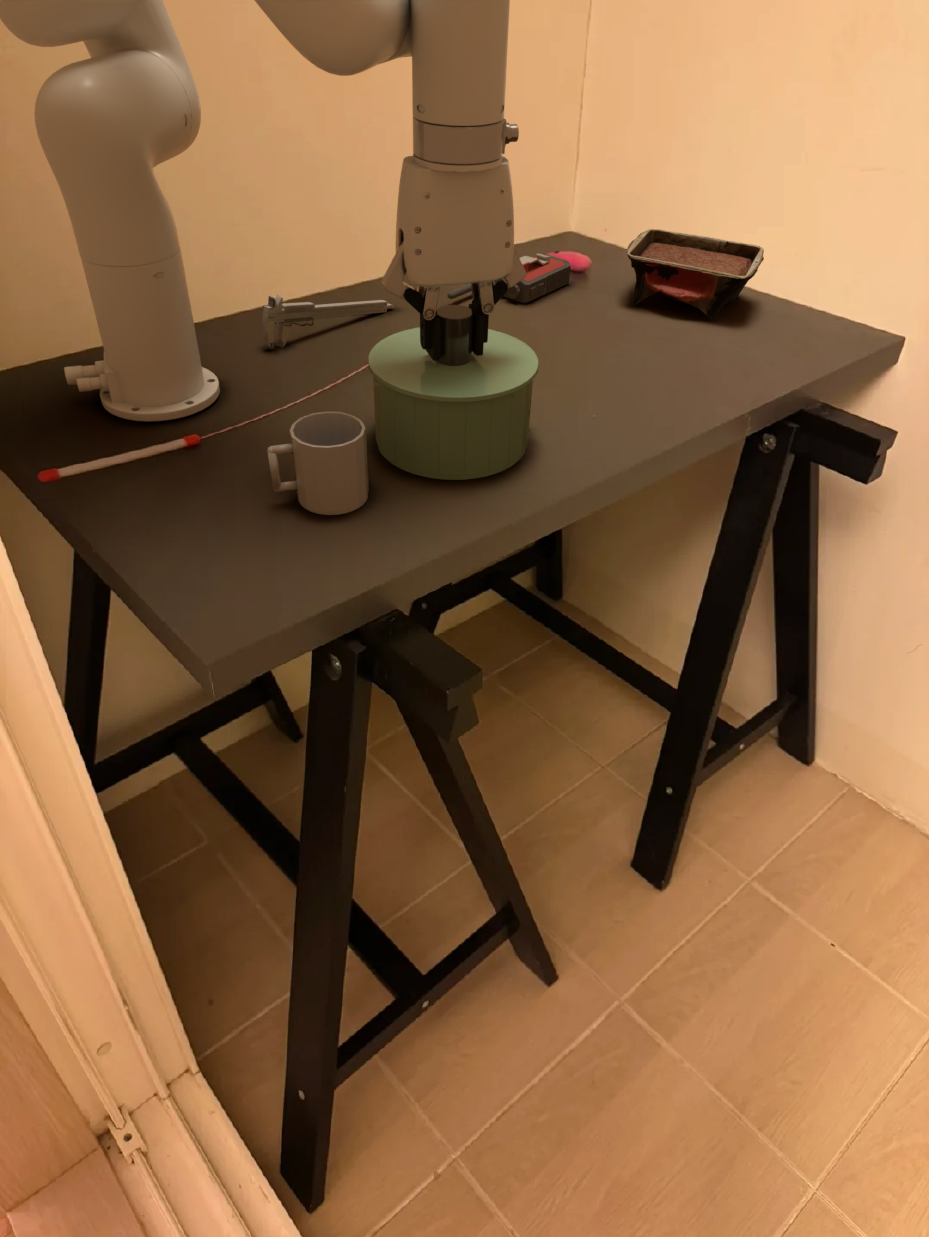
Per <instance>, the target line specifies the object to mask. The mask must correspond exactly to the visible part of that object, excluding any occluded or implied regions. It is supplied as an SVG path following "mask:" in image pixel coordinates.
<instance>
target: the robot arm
mask: <svg viewBox="0 0 929 1237" xmlns="http://www.w3.org/2000/svg"><path fill="white" fill-rule="evenodd" d="M254 2H255V3H256V5H257V6H258V7H259V8H260V9H261V10H262V12H263V13H264V14H265V15H266V17H267V18H268V19H269V20H270V22H271V23H272V24H273V25H274V27H275V28H276V29H277V30H278V31H279V33H280V34H281V35H283V37H284V38H285V39H286V40H287V42H289V44H290V45H291V46H292V47H293V48H294V49H295V50H296V51H297V52H298V53H299V54H300V55H301V56H302V57H303V58H304V59H306V60H307V61H308V62H309V63H311V64H312V65H313V66H314V67H316V68H318V69H319V70H322V71H323V72H326V73H328V74H331V75H335V76H341V77H348V76H349V77H350V76H354V75H358V74H361V73H364V72H366V71H368V70H370V69H372V68H374V67H376V66H378V65H381V64H384V63H387V62H388V63H389V62H391V61H394V60H396V59H401V58H411V89H412V92H411V93H412V94H411V97H412V99H411V101H412V102H411V103H412V107H411V108H412V155H408V156H405V157H404V158H403V160H402V164H401V171H400V176H399V184H398V194H397V206H396V222H395V254H394V256H393V258H392V260H391V261H390V264H389V266H388V267H387V270H386V271H385V272H384V275H383V276H382V278H381V279H382V280H381V284H382V287H383V288H384V289H385V290H386V291H387V292H388V293H390V294H392V295H393V296H395V297H397V298H399V299H401V300H404V301H406V302H407V303H408V304H409V306H411V307H412V308H413V309H414V310H415V311H416V312H417V313H419V327H420V343H421V347H422V348H423V350H424V349H425V350H426V351H427V353H428V354H429V356H430V357H431V358H432V360H433V361H437V360H439V359H441V320H440V319H439V318H438V316H437V311H436V310H437V309H438V303H439V295H440V290H441V289H440V288H441V287H443V286H444V287H445V286H455V285H467V284H470V283H471V288H472V291H471V296H472V300H471V303H468V306H467V307H468V308H470V309H472V310H473V313H474V315H473V344H472V352H473V353H474V354H475V355H477V356H481V355H483V346H484V343H487V341H488V329H489V321H490V314H492V313H493V312H494V310H495V305H497V303H498V302H499V301H500V300H501V299H502V298H504V297H503V296H504V294H505V293H506V292H507V290H508V289H509V288H512V287H513V286H514V285H516V284H517V283H519V282H520V281H521V280H523V279H524V278H525V277H526V270H525V269H524V267H523V265H522V263H521V261H520V259H519V258H520V257H519V254H518V253H517V251H516V249H515V214H514V212H515V210H514V197H513V196H514V195H513V185H512V175H511V169H510V162H509V159H508V158H506V156H505V153H506V147H507V146H506V145H509V144H510V143H516V142H518V140H519V137H520V136H519V134H520V130H519V126H518V124H517V123H510V122H507V119H506V118H505V108H506V107H505V106H506V105H505V104H506V86H507V84H506V83H507V68H508V67H507V65H508V64H507V63H508V48H509V46H508V45H509V26H510V25H509V24H510V5H511V0H254ZM0 21H1V22H2V23H3V25H4V26H5V28H7V30H8V31H9V32H10V33H12V35H14V36H15V37H16V38H17V39H18V40H20V41H22V42H24V43H26V44H29V45H31V46H36V47H41V48H53V47H55V48H56V47H60V46H61V47H62V46H67V45H71V44H75V43H76V44H77V43H80V42H83V44H84V46H85V48H86V50H87V52H88V54H89V56H90V58H86V59H81V60H79V61H75V62H72V63H71V62H70V63H69V64H66V65H64V66H62V67H61V68H59V69H57V70H56V71H54V72H53V73H52V74H50V75H49V77H47V79H46V80H45V81H44V82H43V84H42V85H41V87H40V89H39V91H38V93H37V96H36V100H35V102H34V124H35V129H36V133H37V138H38V140H39V144H40V146H41V149H42V151H43V153H44V155H45V158H46V161H47V163H48V165H49V166H50V169H51V172H52V174H53V175H54V177H55V181H56V183H57V184H58V188H59V190H60V192H61V195H62V198H63V201H64V204H65V207H66V210H67V212H68V216H69V219H70V220H69V221H70V223H71V227H72V230H73V234H74V238H75V242H76V246H77V250H78V254H79V257H80V260H81V263H82V264H81V265H82V268H83V271H84V275H85V276H84V277H85V280H86V284H87V288H88V291H89V295H90V299H91V300H90V301H91V303H92V307H93V311H94V315H95V321H96V323H97V328H98V332H99V335H100V339H101V343H102V348H103V360H96V361H94V364H92V365H72V366H64V367H63V371H64V372H63V373H64V376H65V380H66V384H67V385H68V387H69V386H77V389H78V392H79V393H83V392H92V391H96V390H99V397H100V401H101V405H102V406H103V408H104V410H106V411H107V412H108V413H109V414H111V415H113V416H115V417H118V418H120V419H124V420H128V421H133V422H134V421H136V422H148V423H149V422H166V421H172V420H177V419H181V418H185V417H189V416H191V415H194V414H197V413H199V412H202V411H203V410H205V409H206V408H208V407H210V406H211V405H212V404H213V403H215V401H216V400H217V399H218V397H219V396H220V393H221V387H220V381H219V378H218V376H217V375H215V373H214V372H212V371H211V370H210V369H208V368H205V367H203V366H202V362H201V360H202V359H201V355H200V350H199V344H198V338H197V333H196V327H195V322H194V316H193V310H192V305H191V304H192V303H191V299H190V294H189V288H188V282H187V277H186V272H185V266H184V261H183V260H184V259H183V255H182V254H183V253H182V250H181V245H180V239H179V234H178V229H177V225H176V221H175V218H174V215H173V211H172V209H171V206H170V204H169V201H168V200H167V198H166V195H165V194H164V192H163V190H162V188H161V187H160V184H159V183H158V180H157V178H156V175H155V172H154V168H156V167H157V166H159V165H160V164H163V163H164V162H167V161H168V160H171V159H173V158H175V157H177V156H179V155H181V154H182V153H184V152H186V151H187V150H188V149H189V148H190V147H191V146H192V144H193V143H194V142H195V140H196V138H197V136H198V135H199V131H200V127H201V122H202V109H201V102H200V96H199V93H198V89H197V88H198V87H197V85H196V82H195V79H194V76H193V74H192V71H191V69H190V66H189V64H188V61H187V58H186V56H185V53H184V51H183V48H182V45H181V43H180V41H179V38H178V36H177V33H176V31H175V28H174V26H173V23H172V21H171V19H170V16H169V12H168V11H167V9H166V6H165V3H164V1H163V0H0ZM405 276H406V278H407V280H408V282H409V283H410V284H409V283H407V282H405V281H404V277H405ZM414 286H416V288H415V287H414Z"/></svg>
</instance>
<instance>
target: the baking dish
mask: <svg viewBox="0 0 929 1237" xmlns="http://www.w3.org/2000/svg"><path fill="white" fill-rule="evenodd" d="M764 252H765V249H764V248H763V247H762V246H760V245H756V244H753V243H745V242H739V241H734V240H725V239H721V238H716V237H709V236H705V235H704V236H703V235H697V234H689V233H683V232H677V231H676V232H675V231H669V230H665V229H654V228H649V229H647V230H645V231H643V232H640V234H638V236H636V238H634V239H633V240H632V241H631V242H630V243H629V244H628V246H627V249H626V255H627V257H628V259H629V260H630V265H631V266H630V267H631V268H632V269H633V270H634V273H635V285H634V291H633V296H632V306H633V307H635V306H636V305H637V304H638V303H640V302H641V301H643V300H644V299H646V298H648V297H650V296H653V295H654V294H656V293H658V292H661V294H662V295H664V296H666V297H667V298H670V299H671V300H673V301H675V302H678V303H683V304H687V305H690V306H693V307H695V308H697V309H699V310H700V311H701V312H702V313H703V314H704V315H706V317H707V318H708V319H711V318H713V317H714V316H715V315H716V314H717V313H718V312H719V311H721V309H722V308H723V307H724V306H725V305H726V304H727V305H728V304H730V303H733V302H734V301H735V300H736V299H738V297H739V295H740V294H741V292H742V291H743V289H744V288H745V286H746V285H747V283H748V282H749V281H750V280H751V279H753V277H755V275H756V274H757V272H758V269H759V267H760V266H761V264H762V263H763V261H764V260H765V259H764V258H765V257H764Z"/></svg>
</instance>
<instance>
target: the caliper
mask: <svg viewBox="0 0 929 1237" xmlns="http://www.w3.org/2000/svg"><path fill="white" fill-rule="evenodd" d="M267 300H268V301H267V305H263V310H262V311H263V312H262V318H261V325H262V334H263V342H264V345H265V346H266V347H267V348H270V349H271V350H272V349H274V341H275V332H276V323H277V332H276V333H277V335H276V339H277V340H276V346H277V347H279V348H281V349H282V348H284V347H285V346H286V343H287V340H288V337H289V334H290V331H291V328H292V325H297V326H299V327H306V326H309V327H312V326H313V325H314V320H319V319H329V318H339V317H340V318H341V317H351V316H352V317H353V316H364V315H376V314H385V313H387V312H388V311H387V310H388V309H395V305H393V304H391V303H389V302H388V301H387V300H384V299H373V300H361V301H348V302H338V303H337V302H335V303H322V304H315V303H313V302H311V301H305V302H303V301H302V302H286V303H285V302H283V300H284V298H283V296H281V295H278V294H277V295H276V296H275V298H274V297H272V295H271V296H270V295H268V299H267Z"/></svg>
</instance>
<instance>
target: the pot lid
mask: <svg viewBox="0 0 929 1237" xmlns="http://www.w3.org/2000/svg"><path fill="white" fill-rule="evenodd" d="M468 307H469V306H466V305H462V304H461V305H460V304H447V305H442V306H439V307H437V309H436V311H437V316H438V318H439V319H440V320H441V359H439V360H437V361H433V360H432V358H431V357H430V356H429V354H428V353H427V351H426V350H425V349H424V350H423V348H422V347H421V343H420V326H419V327H413V328H409V329H405V330H401V331H398V332H396V333H393V334H391V335H388V336H386V337H384V338H383V339H381V340H380V341H378V342H377V343H376V344H375V345H374V346H373V347H372V348H371V350H370V351H369V354H368V358H367V364H368V369H369V371H370V373H371V375H372V377H373V376H374V377H375V378H376V379H377V380H378V381H379V382H380V383H382V384H383V385H385V386H386V387H388V388H390V389H392V390H395V391H397V392H400V393H402V394H405V395H409V396H412V397H417V398H421V399H427V400H433V401H444V402H471V401H482V400H488V399H493V398H498V397H502V396H505V395H508V394H511V393H513V392H516V391H518V390H520V389H522V388H523V387H525V386H526V385H528V384H529V383H530V382H531V381H532V380H533V381H534V379H535V378H536V376H537V374H538V371H539V364H540V363H539V358H538V356H537V354H536V352H535V351H534V350H533V348H532V347H530V346H529V344H527V343H525V342H524V341H523V340H521V339H519V338H517V337H515V336H513V335H510V334H508V333H504V332H502V331H498V330H495V329H490V328H488V341H487V343H484V346H483V355H481V356H477V355H475V354H474V353H473V352H472V344H473V315H474V313H473V310H472V309H470V308H468Z"/></svg>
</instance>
